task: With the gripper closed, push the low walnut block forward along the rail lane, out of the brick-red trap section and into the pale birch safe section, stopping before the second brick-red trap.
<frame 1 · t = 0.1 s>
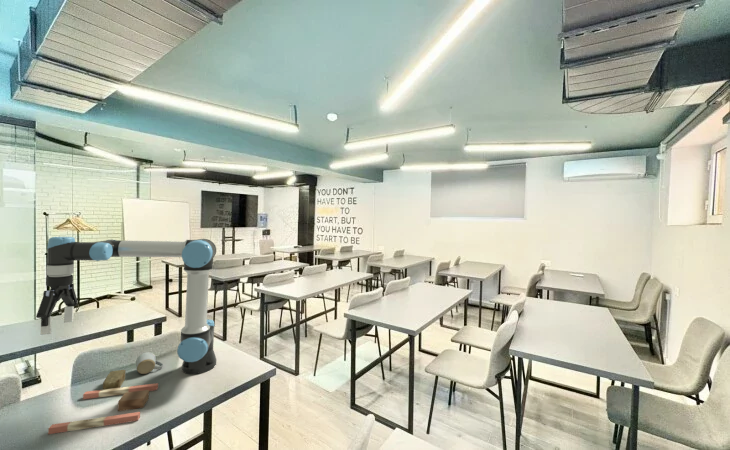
hand: (57, 327, 117), 28 cm above the table, tool pointing down, fingers open, 13 cm apart
ceramic mug: (149, 370, 140), on the table
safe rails: (110, 407, 112), on the table
stone block: (114, 387, 126), on the table
walnut block: (133, 405, 114), on the table
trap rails: (110, 407, 112), on the table
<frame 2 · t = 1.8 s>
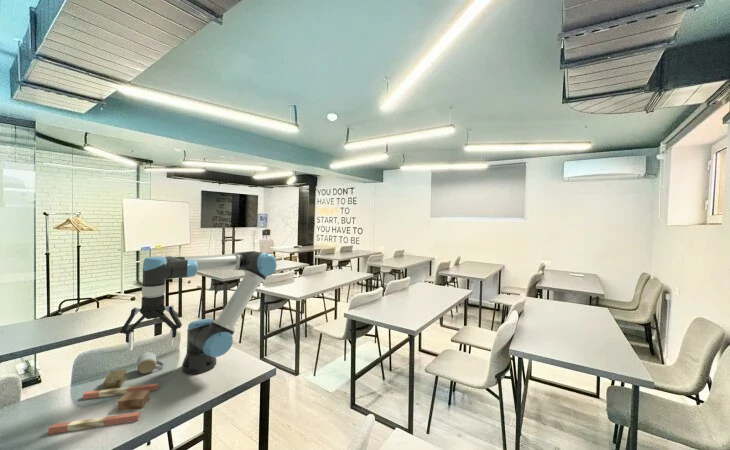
hand: (151, 347, 118), 21 cm above the table, tool pointing down, fingers open, 13 cm apart
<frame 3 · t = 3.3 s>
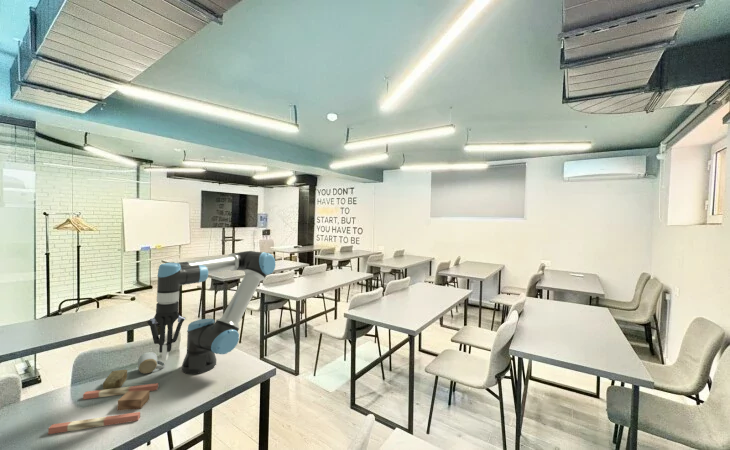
hand: (164, 359, 117), 17 cm above the table, tool pointing down, fingers closed
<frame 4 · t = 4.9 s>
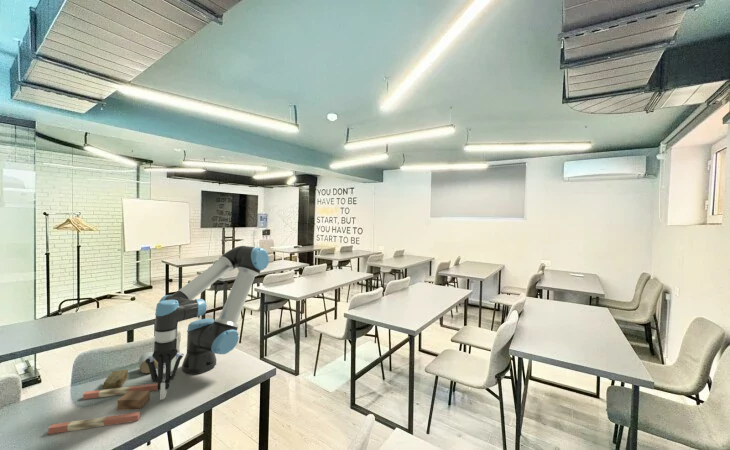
hand: (163, 397, 118), 1 cm above the table, tool pointing down, fingers closed
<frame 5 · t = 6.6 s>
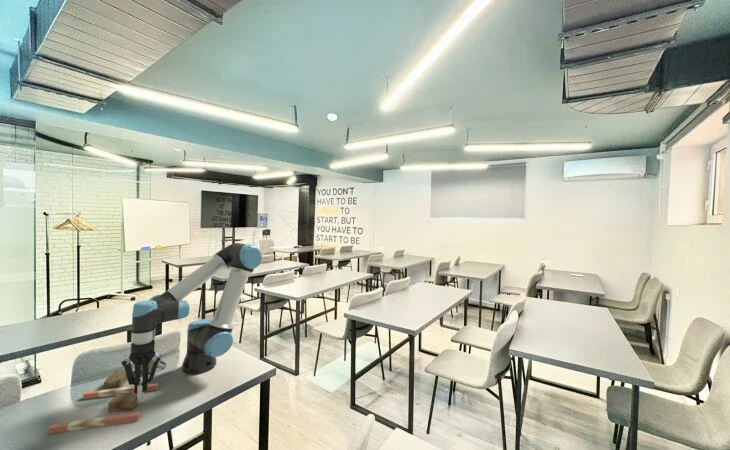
hand: (140, 400, 115), 2 cm above the table, tool pointing down, fingers closed
walnut block: (124, 407, 113), on the table
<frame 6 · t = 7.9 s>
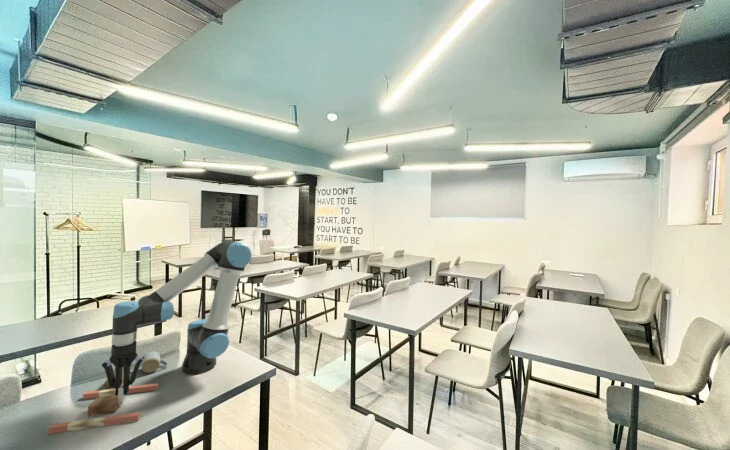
hand: (121, 402, 113), 1 cm above the table, tool pointing down, fingers closed
walnut block: (105, 410, 111), on the table
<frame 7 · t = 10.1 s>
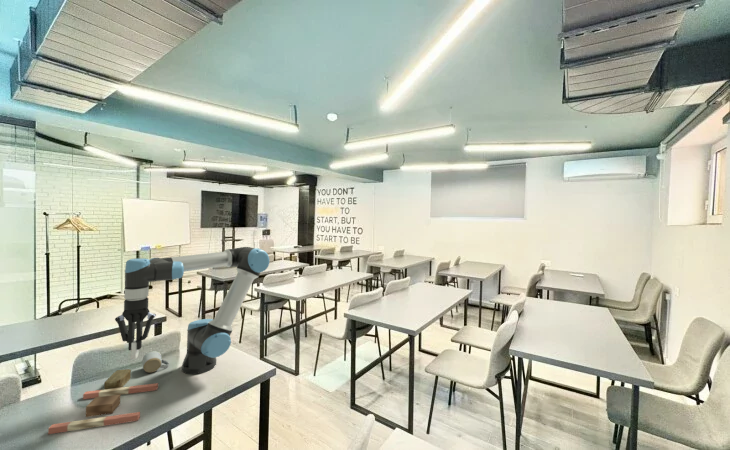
hand: (134, 357, 114), 19 cm above the table, tool pointing down, fingers closed
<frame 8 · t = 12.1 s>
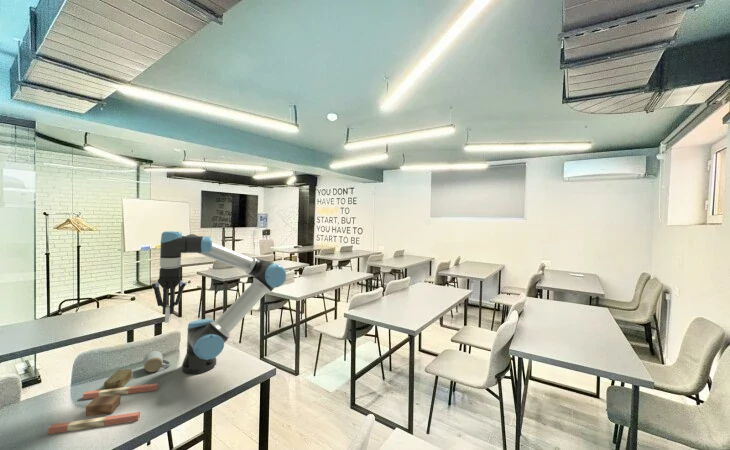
hand: (167, 321, 125), 29 cm above the table, tool pointing down, fingers closed
at the end: walnut block inside the target area (1.1 cm from its centre), on the table; walnut block tilted 0°; walnut block moved 9.3 cm from its start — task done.
